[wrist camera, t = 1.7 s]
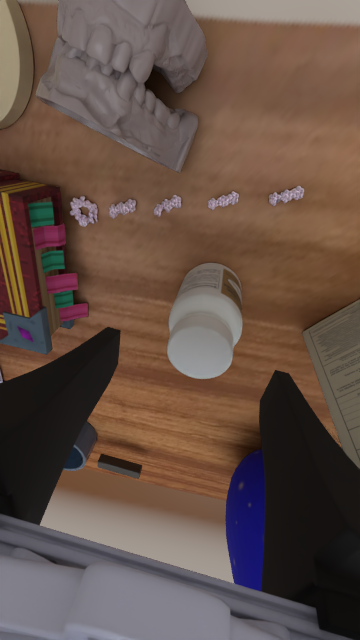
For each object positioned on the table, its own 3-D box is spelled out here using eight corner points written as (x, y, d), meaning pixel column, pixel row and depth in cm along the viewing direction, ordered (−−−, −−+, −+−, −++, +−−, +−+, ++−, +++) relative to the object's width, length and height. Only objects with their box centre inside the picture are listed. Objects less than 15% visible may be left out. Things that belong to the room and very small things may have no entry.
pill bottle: (245, 311, 21) (247, 384, 15) (188, 317, 23) (168, 387, 16) (238, 256, 19) (237, 313, 13) (176, 265, 20) (147, 322, 14)
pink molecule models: (77, 225, 20) (73, 228, 20) (66, 196, 19) (62, 199, 19) (300, 211, 17) (302, 214, 17) (305, 175, 16) (307, 179, 16)
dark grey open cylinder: (47, 439, 36) (33, 461, 33) (43, 405, 32) (26, 427, 30) (96, 452, 36) (85, 476, 33) (97, 420, 32) (85, 444, 30)
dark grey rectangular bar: (101, 459, 32) (97, 467, 32) (101, 453, 32) (97, 461, 31) (141, 470, 32) (138, 479, 31) (142, 464, 31) (139, 473, 31)
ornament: (304, 494, 32) (346, 719, 20) (223, 479, 33) (213, 681, 21) (334, 433, 26) (421, 698, 14) (234, 417, 27) (230, 647, 15)
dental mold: (-36, 54, 11) (-15, -134, 9) (69, 117, 17) (94, 16, 15) (148, 149, 10) (211, -27, 8) (185, 177, 17) (226, 80, 15)
